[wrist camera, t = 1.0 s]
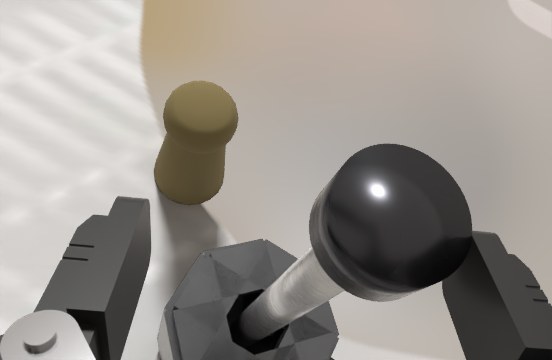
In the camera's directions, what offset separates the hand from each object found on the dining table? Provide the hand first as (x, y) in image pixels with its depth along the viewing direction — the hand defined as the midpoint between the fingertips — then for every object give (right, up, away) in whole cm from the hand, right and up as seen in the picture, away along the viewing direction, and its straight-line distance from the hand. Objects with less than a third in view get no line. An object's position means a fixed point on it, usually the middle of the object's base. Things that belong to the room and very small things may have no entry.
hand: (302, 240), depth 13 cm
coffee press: (-4, -12, +25) cm, 28 cm away
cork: (-8, +2, +31) cm, 32 cm away
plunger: (-3, -8, +17) cm, 19 cm away
